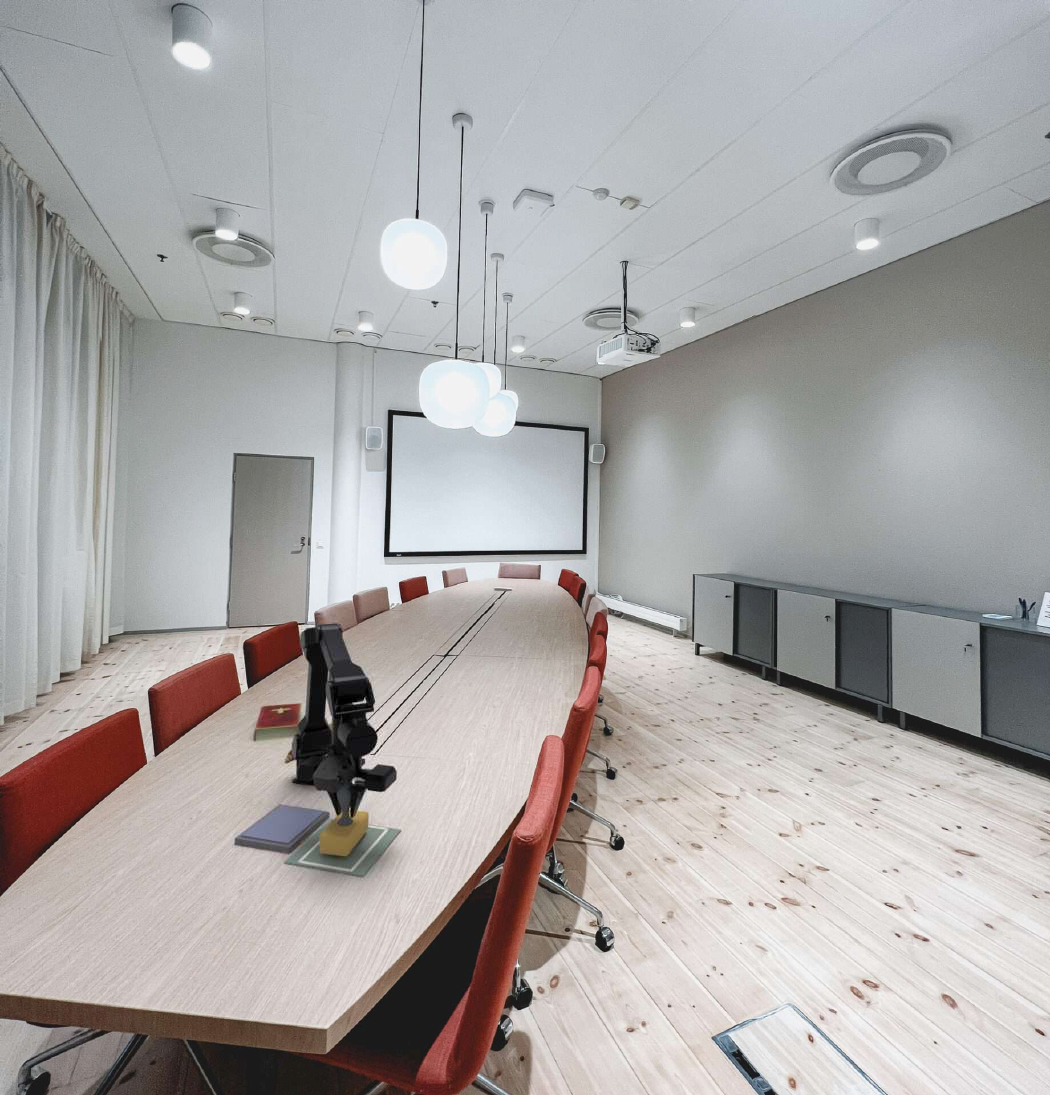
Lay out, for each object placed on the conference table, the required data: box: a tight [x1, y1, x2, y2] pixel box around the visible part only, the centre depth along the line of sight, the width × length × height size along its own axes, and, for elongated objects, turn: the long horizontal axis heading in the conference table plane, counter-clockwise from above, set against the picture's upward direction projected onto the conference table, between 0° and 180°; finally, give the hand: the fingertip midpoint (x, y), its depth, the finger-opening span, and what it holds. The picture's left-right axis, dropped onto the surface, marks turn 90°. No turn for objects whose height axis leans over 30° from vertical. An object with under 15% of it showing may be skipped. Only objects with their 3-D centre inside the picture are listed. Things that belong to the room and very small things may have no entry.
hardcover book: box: [253, 702, 302, 742], centre depth 176 cm, size 12×21×4 cm, turn 20°
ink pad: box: [234, 803, 330, 854], centre depth 119 cm, size 12×14×2 cm
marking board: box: [283, 818, 402, 878], centre depth 113 cm, size 16×16×1 cm
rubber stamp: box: [319, 781, 370, 856], centre depth 113 cm, size 10×6×12 cm, turn 173°
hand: (345, 815), depth 113 cm, fingers closed on rubber stamp, 3 cm apart
